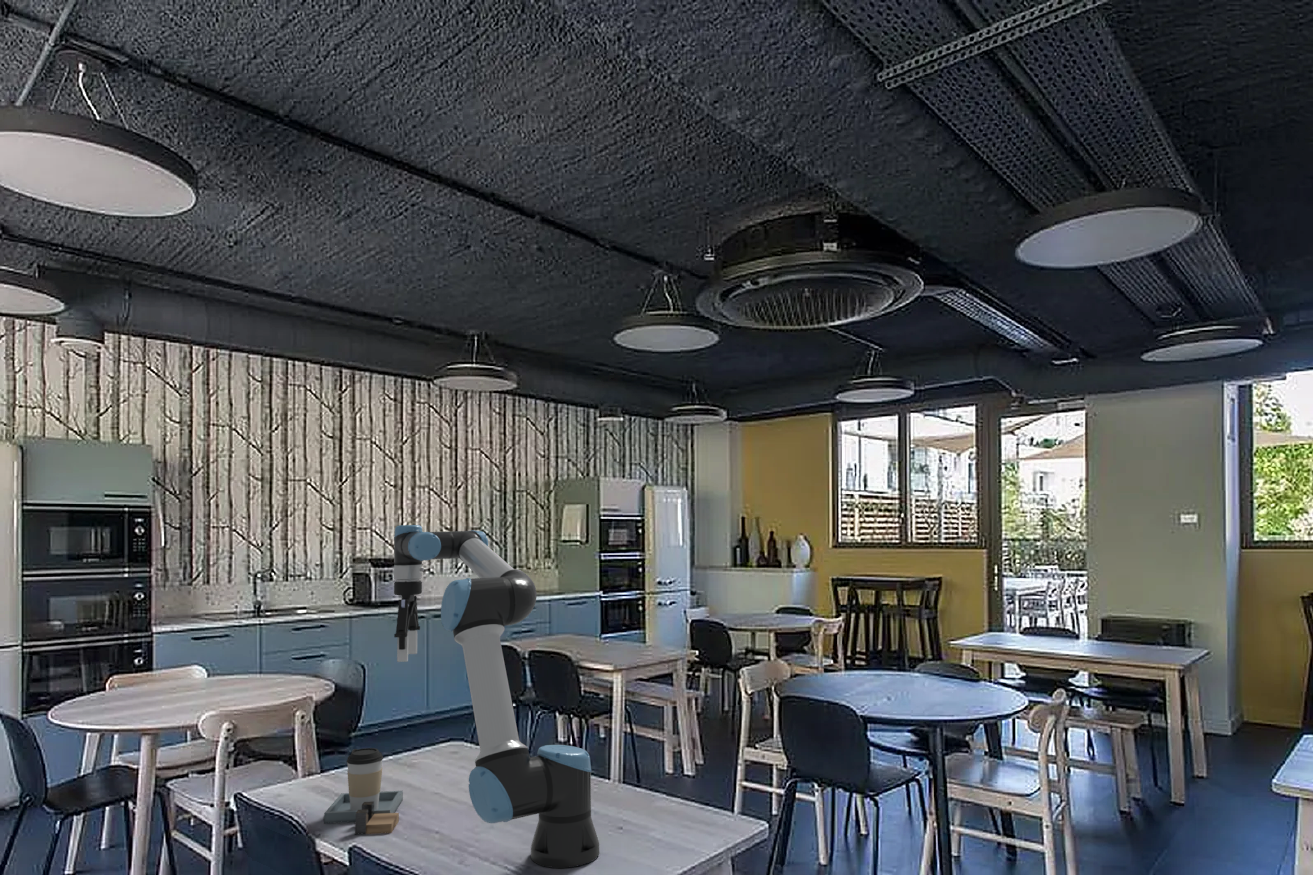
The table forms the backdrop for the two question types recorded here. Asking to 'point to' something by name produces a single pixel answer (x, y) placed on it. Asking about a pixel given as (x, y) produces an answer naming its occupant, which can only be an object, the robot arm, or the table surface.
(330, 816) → the tray
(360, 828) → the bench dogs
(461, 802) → the table surface
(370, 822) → the wooden block
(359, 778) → the coffee cup
